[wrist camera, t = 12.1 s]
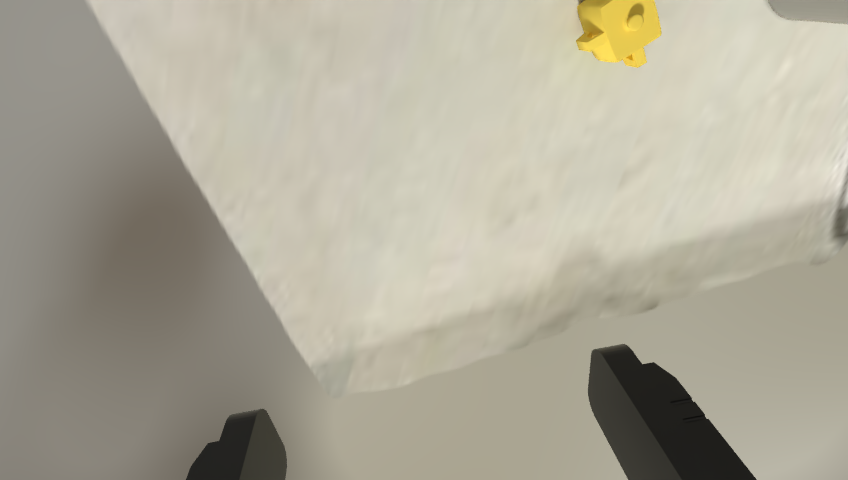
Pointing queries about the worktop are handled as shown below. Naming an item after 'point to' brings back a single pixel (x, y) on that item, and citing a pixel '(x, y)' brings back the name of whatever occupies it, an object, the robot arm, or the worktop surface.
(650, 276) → the worktop surface
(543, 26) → the worktop surface
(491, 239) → the worktop surface
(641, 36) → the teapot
